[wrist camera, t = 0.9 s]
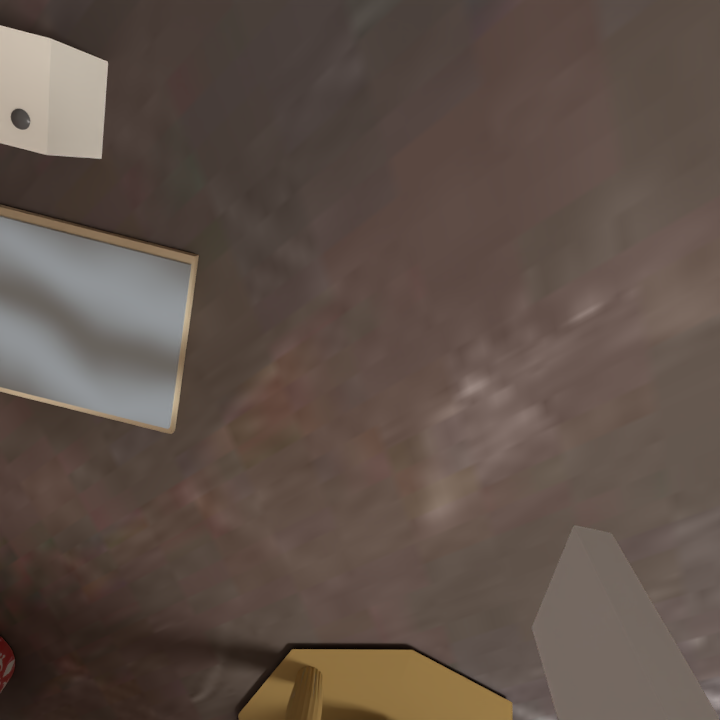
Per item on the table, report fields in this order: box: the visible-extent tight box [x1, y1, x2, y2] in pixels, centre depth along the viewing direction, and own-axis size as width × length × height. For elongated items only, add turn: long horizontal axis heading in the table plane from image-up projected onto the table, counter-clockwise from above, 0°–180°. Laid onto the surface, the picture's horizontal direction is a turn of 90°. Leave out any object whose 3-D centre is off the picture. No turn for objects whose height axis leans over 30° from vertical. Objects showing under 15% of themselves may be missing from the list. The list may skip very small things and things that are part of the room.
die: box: [0, 25, 108, 159], centre depth 27 cm, size 5×5×5 cm
